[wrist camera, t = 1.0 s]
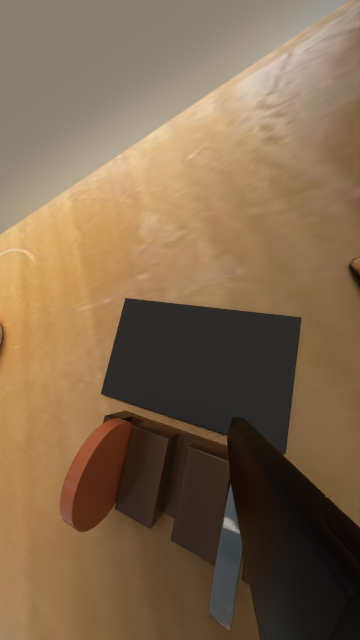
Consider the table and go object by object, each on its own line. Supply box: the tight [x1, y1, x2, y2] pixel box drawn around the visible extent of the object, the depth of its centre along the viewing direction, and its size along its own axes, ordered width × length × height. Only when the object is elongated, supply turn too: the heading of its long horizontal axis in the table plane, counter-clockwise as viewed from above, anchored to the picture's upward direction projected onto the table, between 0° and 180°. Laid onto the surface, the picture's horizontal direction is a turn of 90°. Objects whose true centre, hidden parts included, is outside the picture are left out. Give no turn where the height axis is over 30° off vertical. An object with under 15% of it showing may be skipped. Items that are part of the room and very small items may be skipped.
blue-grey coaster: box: [209, 483, 243, 631], centre depth 15 cm, size 1×8×8 cm, turn 168°
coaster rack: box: [103, 411, 250, 584], centre depth 20 cm, size 16×7×4 cm, turn 77°
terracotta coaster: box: [60, 418, 134, 532], centre depth 19 cm, size 1×8×8 cm, turn 167°
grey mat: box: [101, 298, 301, 454], centre depth 24 cm, size 12×20×1 cm, turn 77°
